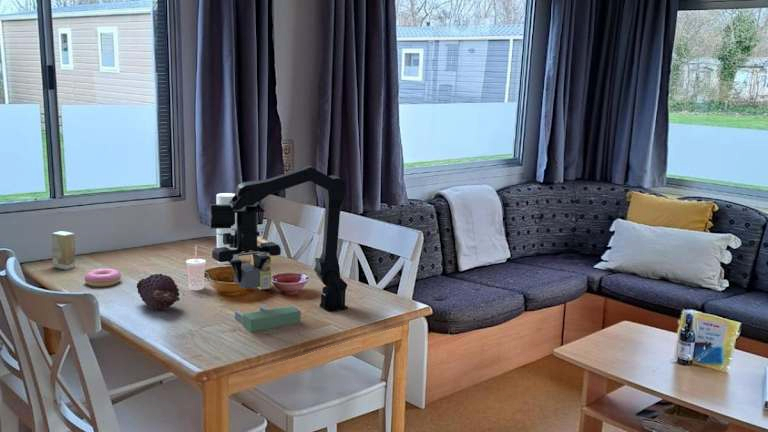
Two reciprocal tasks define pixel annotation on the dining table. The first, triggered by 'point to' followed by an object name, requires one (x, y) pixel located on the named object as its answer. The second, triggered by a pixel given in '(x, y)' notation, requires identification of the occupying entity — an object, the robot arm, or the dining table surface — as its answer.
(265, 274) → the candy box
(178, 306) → the dining table surface
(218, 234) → the cylindrical container
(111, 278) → the doughnut
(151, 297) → the pine cone
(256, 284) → the slate gray cuboid
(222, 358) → the dining table surface
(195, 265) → the beverage cup
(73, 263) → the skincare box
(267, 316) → the green and blue-gray block
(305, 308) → the dining table surface
